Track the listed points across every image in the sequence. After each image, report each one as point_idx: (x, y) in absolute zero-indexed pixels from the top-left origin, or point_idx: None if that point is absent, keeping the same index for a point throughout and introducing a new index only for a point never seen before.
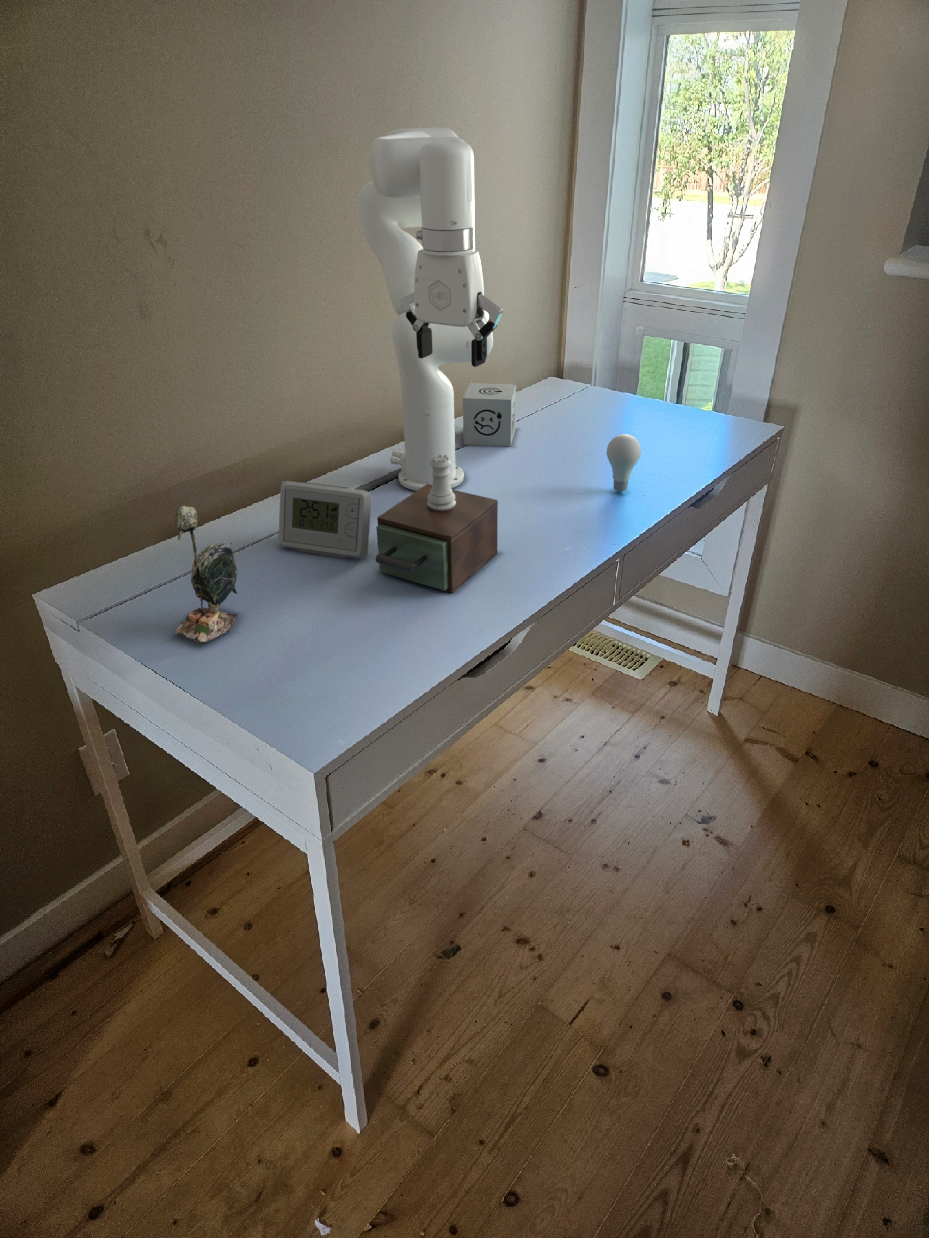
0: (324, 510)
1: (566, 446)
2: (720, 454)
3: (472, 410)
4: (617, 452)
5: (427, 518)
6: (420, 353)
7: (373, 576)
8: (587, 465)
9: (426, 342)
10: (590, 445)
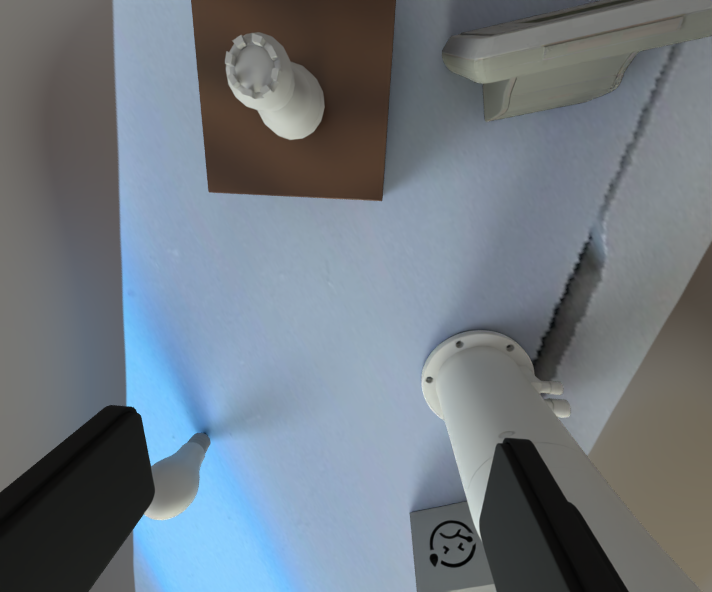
0: (572, 14)
1: (336, 534)
2: (154, 564)
3: (482, 560)
4: (161, 472)
5: (285, 21)
6: (522, 459)
7: (398, 5)
8: (281, 492)
9: (522, 572)
10: (308, 545)
